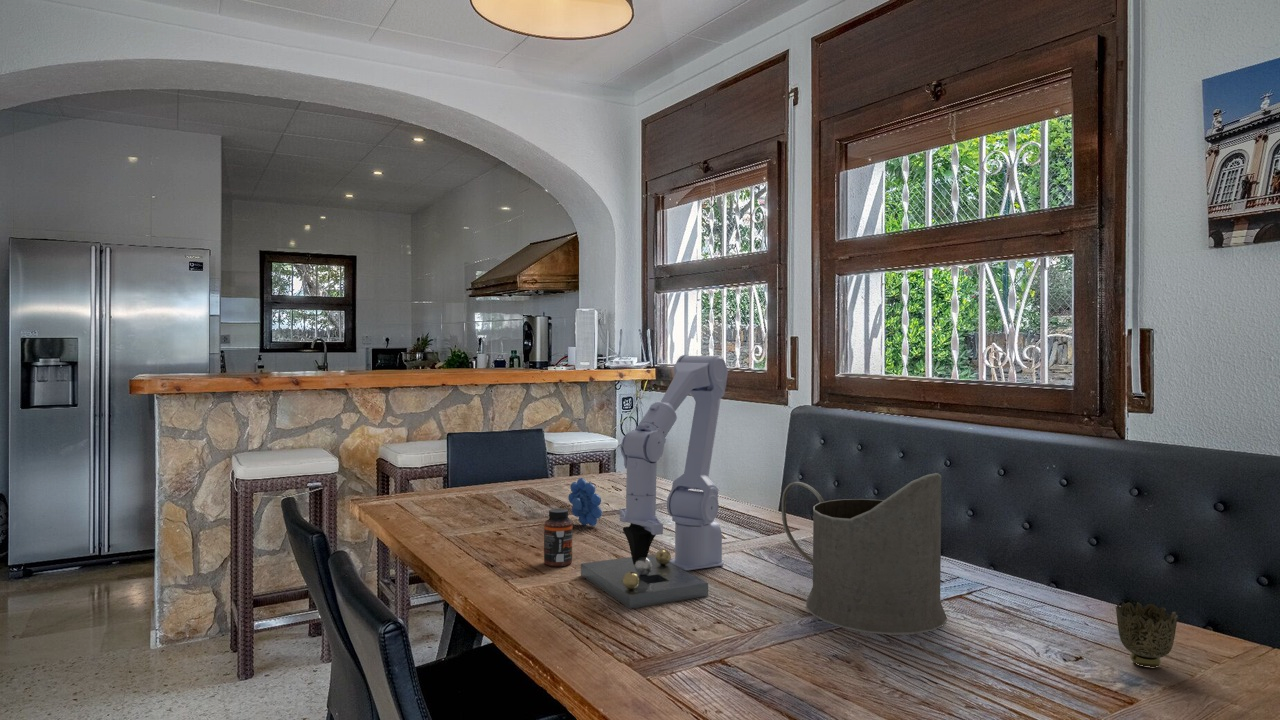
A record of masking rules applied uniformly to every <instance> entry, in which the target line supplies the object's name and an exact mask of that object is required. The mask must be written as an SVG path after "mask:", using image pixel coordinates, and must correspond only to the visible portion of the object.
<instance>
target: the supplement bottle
mask: <svg viewBox="0 0 1280 720" xmlns="http://www.w3.org/2000/svg"><path fill="white" fill-rule="evenodd" d="M543 524H544V526H543V527H544V531H543V533H544V534H543V535H544V536H543V563H544V564H545V565H546V566H549V567H557V568H558V567H559V568H560V567H566V566H570V564H572V561H573V529H574V528H573V521H572V520H571V519H570V518H569V509H568V508H552V509H551V508H550V509H549V510H548V519H547V520H545V522H544V523H543Z"/></svg>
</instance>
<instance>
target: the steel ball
mask: <svg viewBox="0 0 1280 720" xmlns="http://www.w3.org/2000/svg"><path fill="white" fill-rule="evenodd" d="M652 568H653V564H652V561H651V560H650V559H649V558H647V557H640V558H639V559H637V561H636V563H635V570H636V572H637V573H638V574H640V575H648V574H649V573H650V572H651V571H652Z"/></svg>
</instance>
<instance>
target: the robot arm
mask: <svg viewBox="0 0 1280 720" xmlns="http://www.w3.org/2000/svg"><path fill="white" fill-rule="evenodd" d="M728 373H729V370H728V366H727V364H726V361H725V359H724V358H723V357H722V356H721V355H719V354H718V355H717V354H716V355H687V354H682V355H680V356H679V357H678V358H677V360H676V363H675V364H674V365H673V379H672V380H671V382H670V384H669V386H668V387H667V389H666V391H665V393H664V395H663V397H662V398H661V400H660V401H658V402H654V403H652V404H651V405H650V407H649V408H648V410H647V412H646V413H645V414H644V416H643V418H642V419H641V421H640V422H639V423H638V425H637V427H635V429H632V430H629V431H628V432H627V433H626V434H625V435H624V436H623V438H622V440H621V444H620V452H621V455H622V457H623V467H624V468H625V469H626V487H625V488H626V489H625V490H626V491H625V509H620V510H619V521H620V522H622V523H629V526H625V527H622V532H623V533H624V536H625V538H626V539H627V542H628V546H629V551H630V554H631V555H630V557H632V561H633V564H634V565H635V563H636V561H637V559H639V558H640V557H647V555H649V551H650V548H651V546H652V543H653V541H654V540H655V537H656V536H657V535H663V534H664V523H662V522H661V521H660V520H659V518H658V517H657V516H656V515H657V514H656V511H657V510H656V509H657V508H656V507H657V470H658V469H657V468H658V467H657V463H658V461H659V460H660V459H661V457H662V456H663V453H664V448H665V444H666V440H667V439H666V437H667V436H668V435H669V432H670V431H671V430H672V428H673V426H674V425H675V424H676V421H677V419H678V417H677V413H676V411H677V410H678V408H679V407H680V406H681V404H682V403H683V402H684V400H685V399H686V398H687V396H688V395H689V396H690V397H692V398H693V399H694V401H695V404H694V409H693V410H694V411H693V416H692V422H691V423H692V424H691V429H690V434H689V442H688V447H687V452H686V459H685V465H684V470H683V471H684V472H683V474H681V475H680V476H679V477H677V478H676V479H674V480H673V481H672V484H671V485H672V486H671V489H670V492H669V494H668V496H667V498H666V510H667V513H668V514H669V516H670V517H672V520H671V521H672V522H674V523H675V529H674V530H675V532H674V541H675V542H674V558H671V560H670V562H669V563H670V564H672V565H674V566H676V567H678V568H680V569H682V570H684V571H686V572H688V571H694V570H695V571H696V570H700V569H701V570H702V569H706V568H707V569H708V568H716V567H721V566H724V562H723V560H722V559H723V550H722V549H723V533H722V530H721V527H720V525H719V523H718V522H717V521H716V520H715V519H716V518H717V516H718V513H719V508H720V506H719V488H718V487H717V485H716V484H715V483H714V482H713V481H712V480H711V478H710V477H709V476H710V475H709V474H710V469H711V462H712V457H713V452H714V451H713V449H714V444H715V438H716V431H717V425H718V418H719V411H720V405H721V399H722V398H723V397H724V396H725V392H726V388H727V382H728Z"/></svg>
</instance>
